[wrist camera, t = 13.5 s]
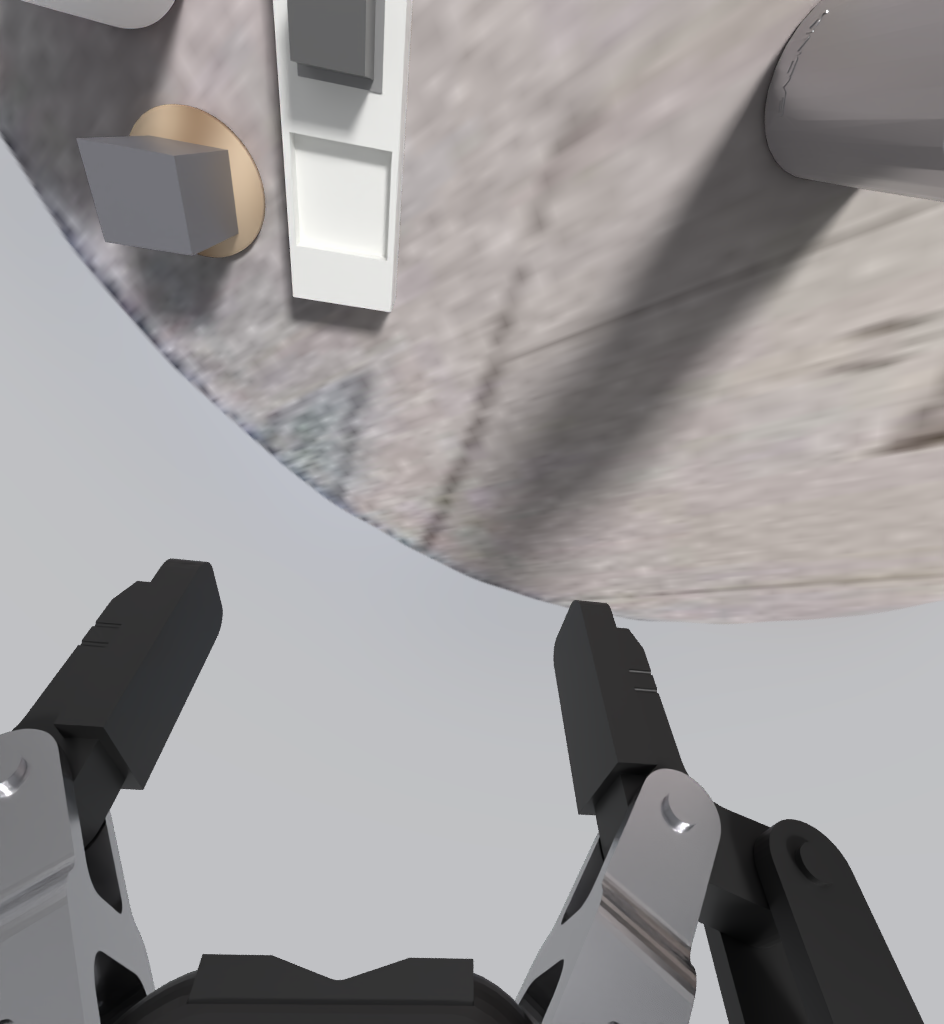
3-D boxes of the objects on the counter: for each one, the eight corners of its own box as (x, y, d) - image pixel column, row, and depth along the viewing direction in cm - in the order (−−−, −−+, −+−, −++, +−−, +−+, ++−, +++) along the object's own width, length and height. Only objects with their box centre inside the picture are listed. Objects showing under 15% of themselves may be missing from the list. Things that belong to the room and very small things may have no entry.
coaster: (257, 119, 29) (254, 119, 28) (271, 264, 34) (268, 266, 33) (114, 91, 28) (109, 91, 28) (150, 244, 33) (145, 246, 33)
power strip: (434, -389, 19) (425, -555, 15) (395, 300, 35) (385, 326, 31) (265, -442, 19) (198, -634, 14) (304, 285, 35) (279, 310, 30)
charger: (228, 149, 29) (173, 155, 24) (239, 234, 32) (192, 257, 27) (149, 135, 29) (76, 138, 23) (167, 222, 32) (105, 243, 26)
